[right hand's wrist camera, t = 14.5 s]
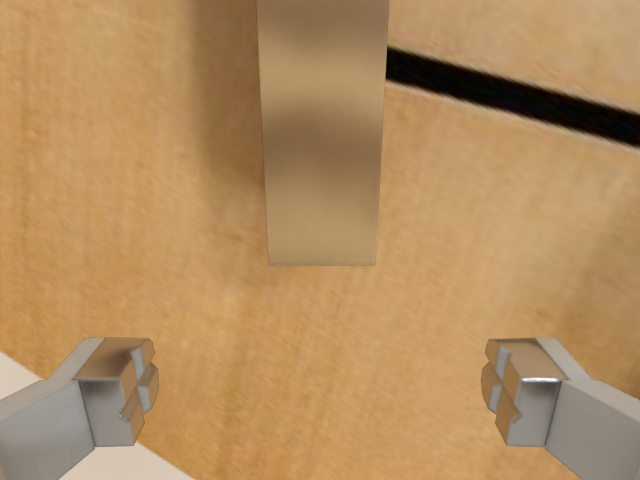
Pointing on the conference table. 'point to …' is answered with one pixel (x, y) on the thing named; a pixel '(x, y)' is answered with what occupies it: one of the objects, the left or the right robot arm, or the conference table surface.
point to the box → (322, 128)
